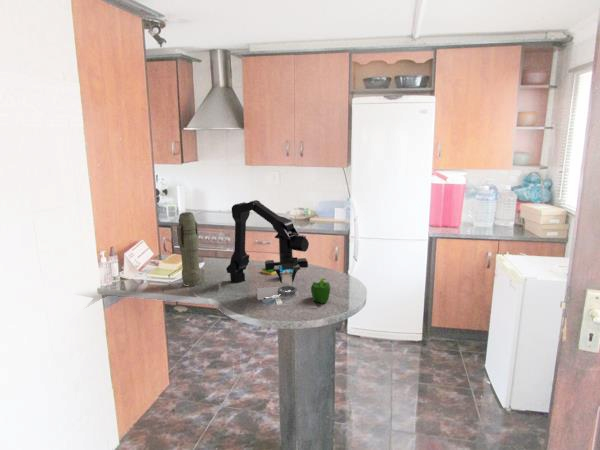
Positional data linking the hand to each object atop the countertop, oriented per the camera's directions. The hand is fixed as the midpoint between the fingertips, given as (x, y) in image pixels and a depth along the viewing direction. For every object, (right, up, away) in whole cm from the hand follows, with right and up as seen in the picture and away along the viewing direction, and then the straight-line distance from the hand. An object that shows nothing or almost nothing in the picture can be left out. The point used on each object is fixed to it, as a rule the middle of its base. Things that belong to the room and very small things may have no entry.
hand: (286, 282), depth 190 cm
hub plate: (-4, -6, +1) cm, 7 cm away
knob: (0, -1, 0) cm, 1 cm away
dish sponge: (-7, +1, +35) cm, 36 cm away
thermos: (-47, -3, +18) cm, 50 cm away
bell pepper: (+15, -7, -8) cm, 18 cm away
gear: (0, -2, +20) cm, 20 cm away
